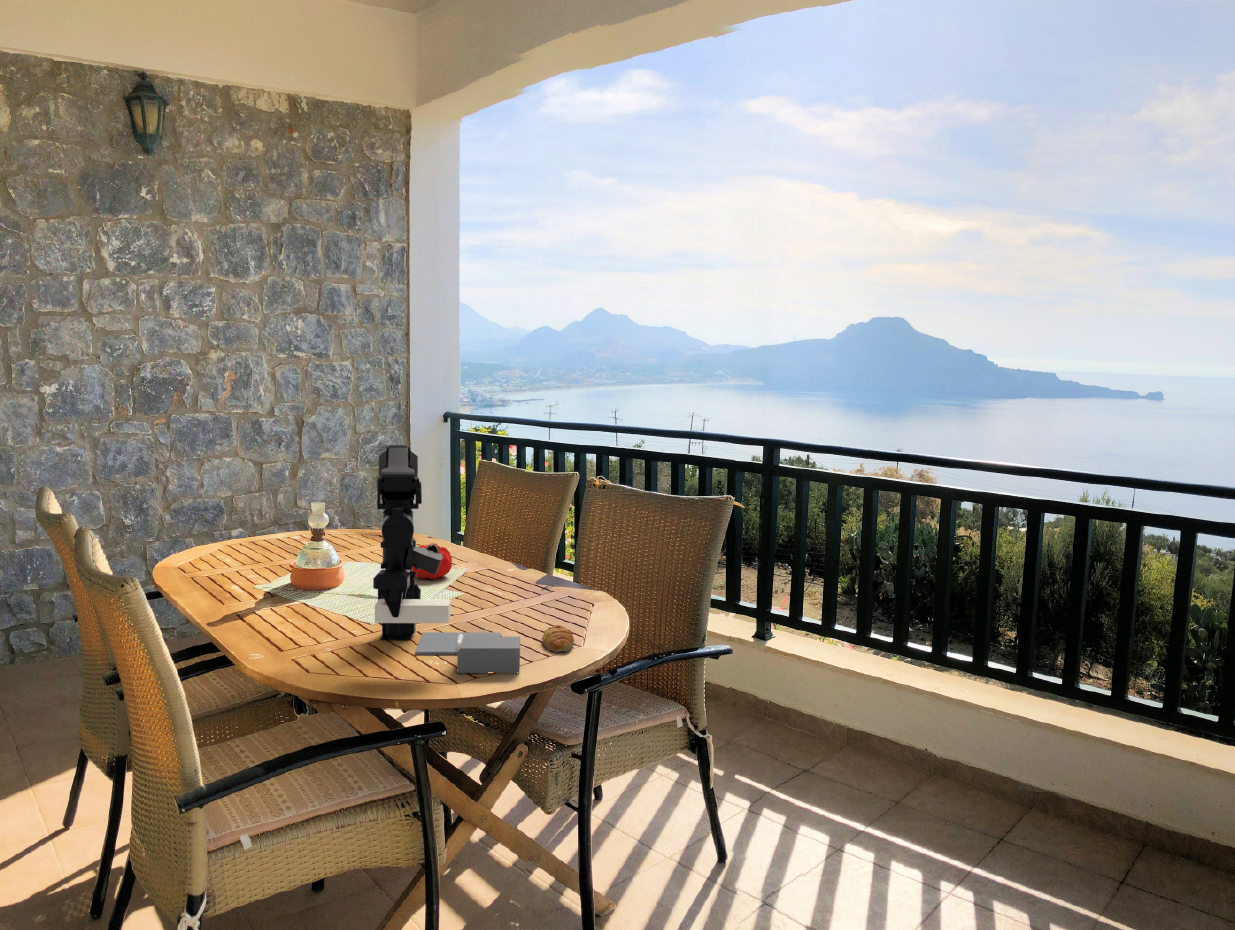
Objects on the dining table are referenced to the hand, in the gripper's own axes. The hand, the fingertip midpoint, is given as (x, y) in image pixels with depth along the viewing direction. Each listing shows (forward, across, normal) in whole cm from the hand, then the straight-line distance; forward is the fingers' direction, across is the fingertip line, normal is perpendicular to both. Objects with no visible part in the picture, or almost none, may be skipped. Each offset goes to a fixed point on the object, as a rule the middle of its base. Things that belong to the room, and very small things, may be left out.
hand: (397, 613), depth 168 cm
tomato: (+11, +73, +2) cm, 74 cm away
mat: (+11, +14, -11) cm, 21 cm away
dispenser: (+11, 0, -18) cm, 21 cm away
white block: (+1, 0, -3) cm, 3 cm away
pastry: (+11, +14, -32) cm, 37 cm away
